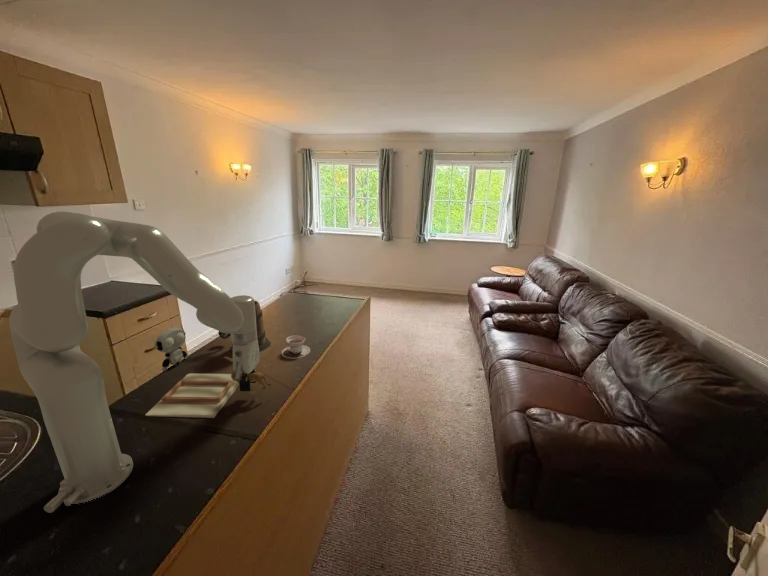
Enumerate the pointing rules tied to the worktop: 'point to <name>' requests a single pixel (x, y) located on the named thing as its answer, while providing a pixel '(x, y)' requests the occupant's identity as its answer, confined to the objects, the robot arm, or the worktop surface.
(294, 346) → the teacup
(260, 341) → the tankard
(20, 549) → the worktop surface
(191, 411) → the base plate
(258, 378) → the lion figurine
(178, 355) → the robot toy
